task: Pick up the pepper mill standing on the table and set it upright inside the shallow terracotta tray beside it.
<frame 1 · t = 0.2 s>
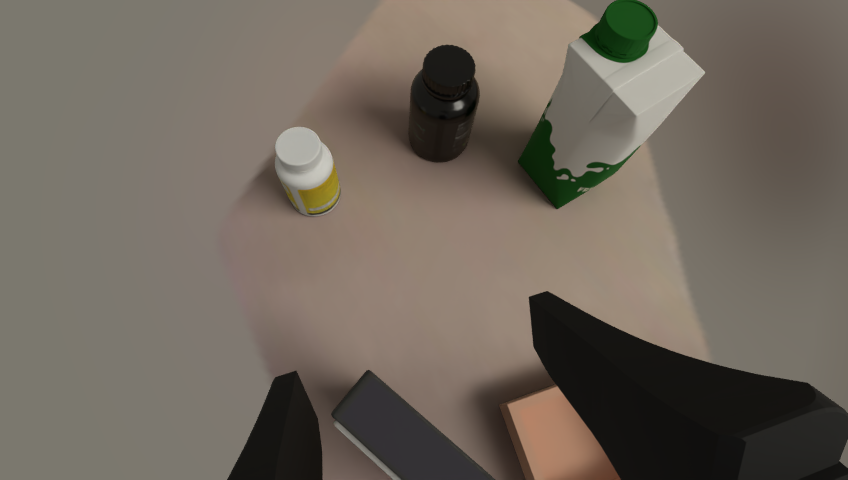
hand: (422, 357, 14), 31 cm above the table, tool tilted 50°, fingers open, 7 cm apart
black box: (407, 440, 42), on the table
milk carton: (559, 171, 52), on the table
supplement bottle 2: (316, 195, 50), on the table
tray: (567, 440, 42), on the table
supplement bottle: (438, 139, 53), on the table
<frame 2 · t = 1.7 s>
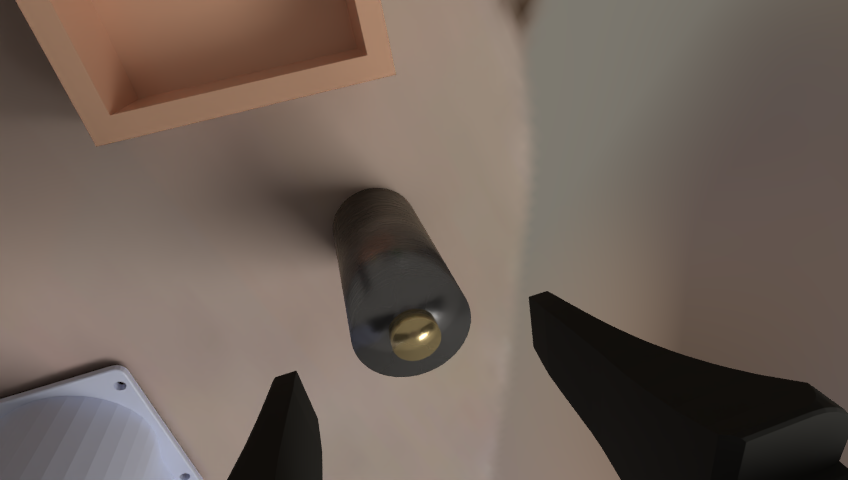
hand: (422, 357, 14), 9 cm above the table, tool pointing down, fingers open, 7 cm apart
pepper mill: (375, 227, 22), on the table
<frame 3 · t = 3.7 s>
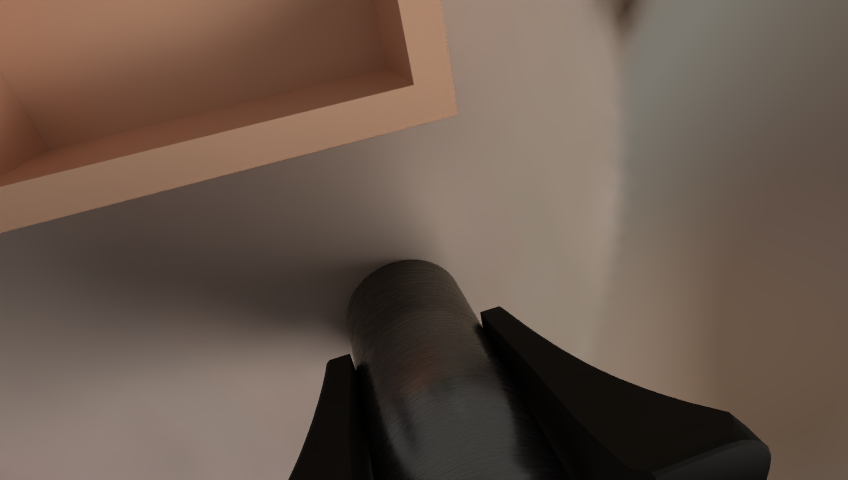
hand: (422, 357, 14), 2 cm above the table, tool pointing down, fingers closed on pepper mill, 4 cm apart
pepper mill: (405, 311, 16), on the table, touching gripper
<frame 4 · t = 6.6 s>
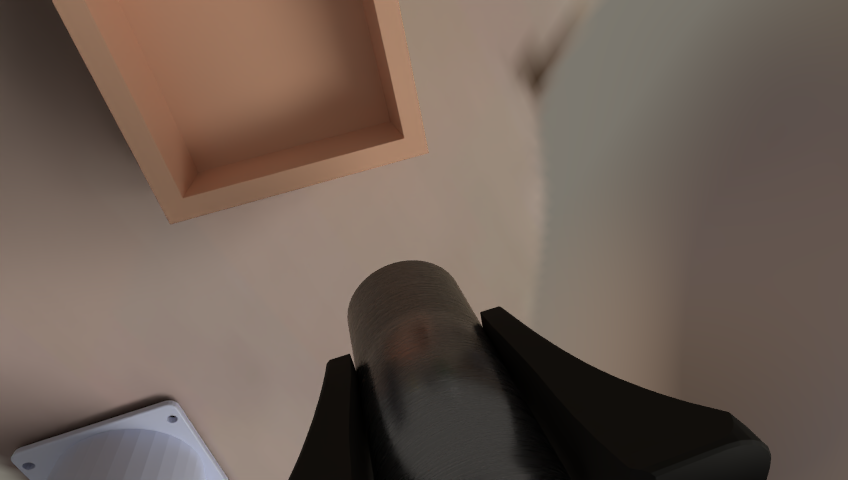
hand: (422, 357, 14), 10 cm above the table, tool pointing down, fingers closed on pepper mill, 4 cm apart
pepper mill: (406, 311, 16), point 7 cm above the table, touching gripper
tray: (262, 42, 18), on the table
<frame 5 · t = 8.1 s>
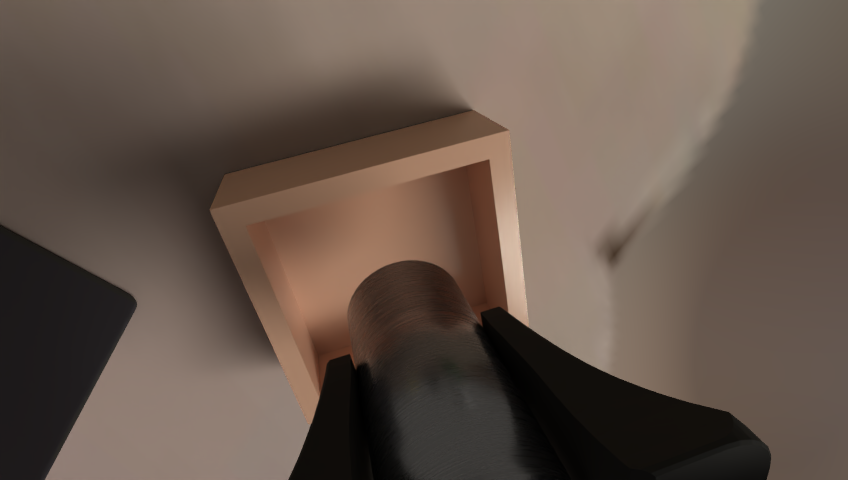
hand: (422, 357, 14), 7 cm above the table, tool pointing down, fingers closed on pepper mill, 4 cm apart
pepper mill: (405, 311, 16), point 5 cm above the table, touching gripper
tray: (382, 249, 20), on the table
when the fingers open (4 cm above the table, at t = 9.5 s): pepper mill drops 1 cm, resting on tray.
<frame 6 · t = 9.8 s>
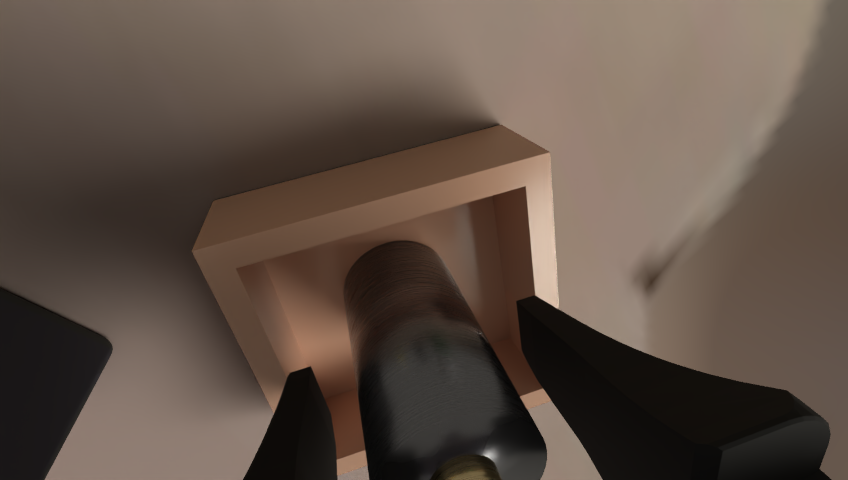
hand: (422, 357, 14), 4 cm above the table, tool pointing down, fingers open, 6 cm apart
pepper mill: (397, 288, 17), point 1 cm above the table, touching tray
tray: (395, 281, 18), on the table
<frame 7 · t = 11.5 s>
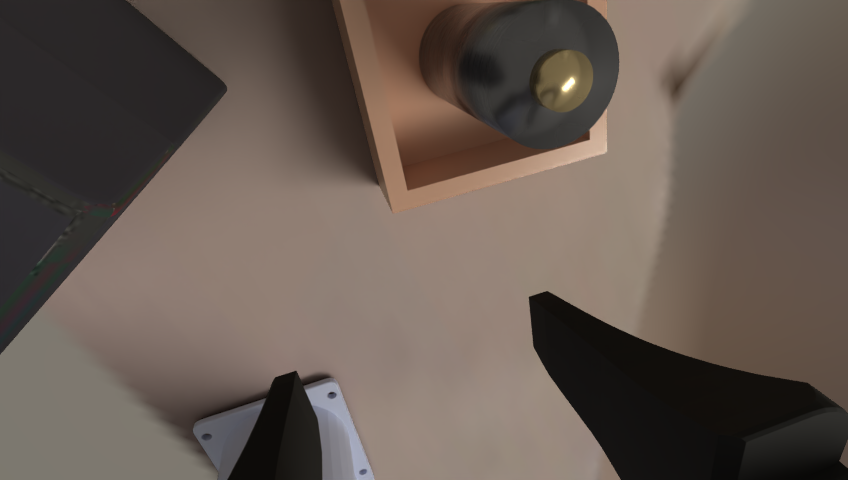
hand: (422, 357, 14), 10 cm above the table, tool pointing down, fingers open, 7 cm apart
black box: (70, 7, 16), on the table
pepper mill: (463, 55, 20), point 1 cm above the table, touching tray
tray: (460, 55, 20), on the table
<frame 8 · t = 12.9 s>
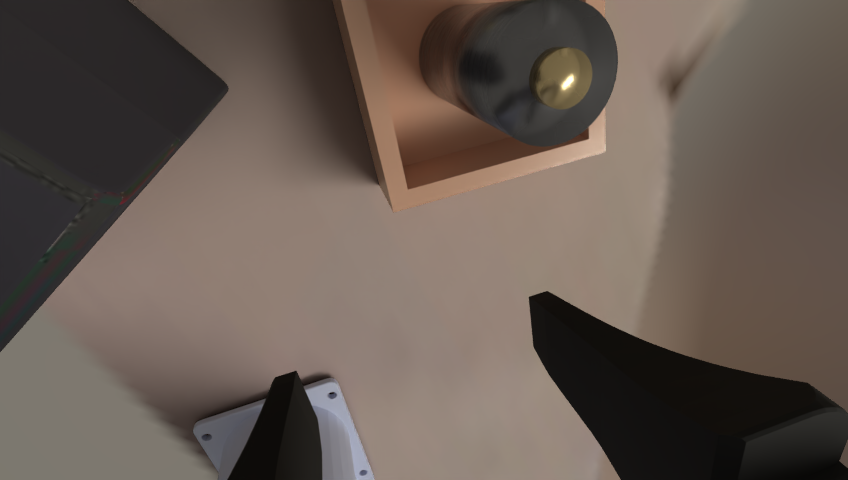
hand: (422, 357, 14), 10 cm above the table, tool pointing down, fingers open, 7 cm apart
black box: (73, 7, 17), on the table
pepper mill: (463, 56, 20), point 1 cm above the table, touching tray
tray: (459, 55, 20), on the table
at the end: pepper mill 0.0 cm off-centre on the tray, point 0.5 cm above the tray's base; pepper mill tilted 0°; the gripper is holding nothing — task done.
